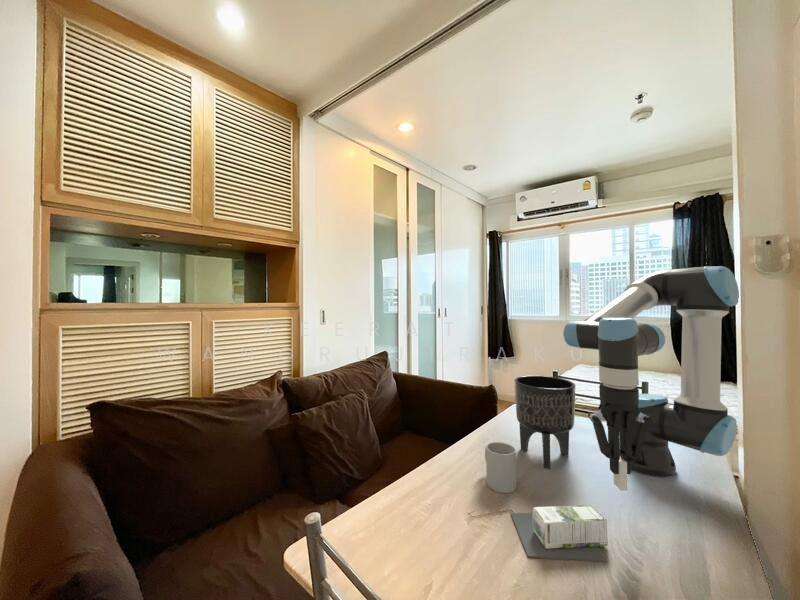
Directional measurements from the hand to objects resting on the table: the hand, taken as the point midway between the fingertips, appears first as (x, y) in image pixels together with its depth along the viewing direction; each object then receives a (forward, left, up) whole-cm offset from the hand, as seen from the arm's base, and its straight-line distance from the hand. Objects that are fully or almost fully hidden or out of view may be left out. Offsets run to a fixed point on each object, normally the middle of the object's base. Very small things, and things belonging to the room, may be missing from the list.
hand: (620, 487), depth 74 cm
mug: (+23, -22, -12) cm, 34 cm away
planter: (+3, -39, -12) cm, 41 cm away
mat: (+15, 0, -12) cm, 19 cm away
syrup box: (+5, +1, -8) cm, 10 cm away
